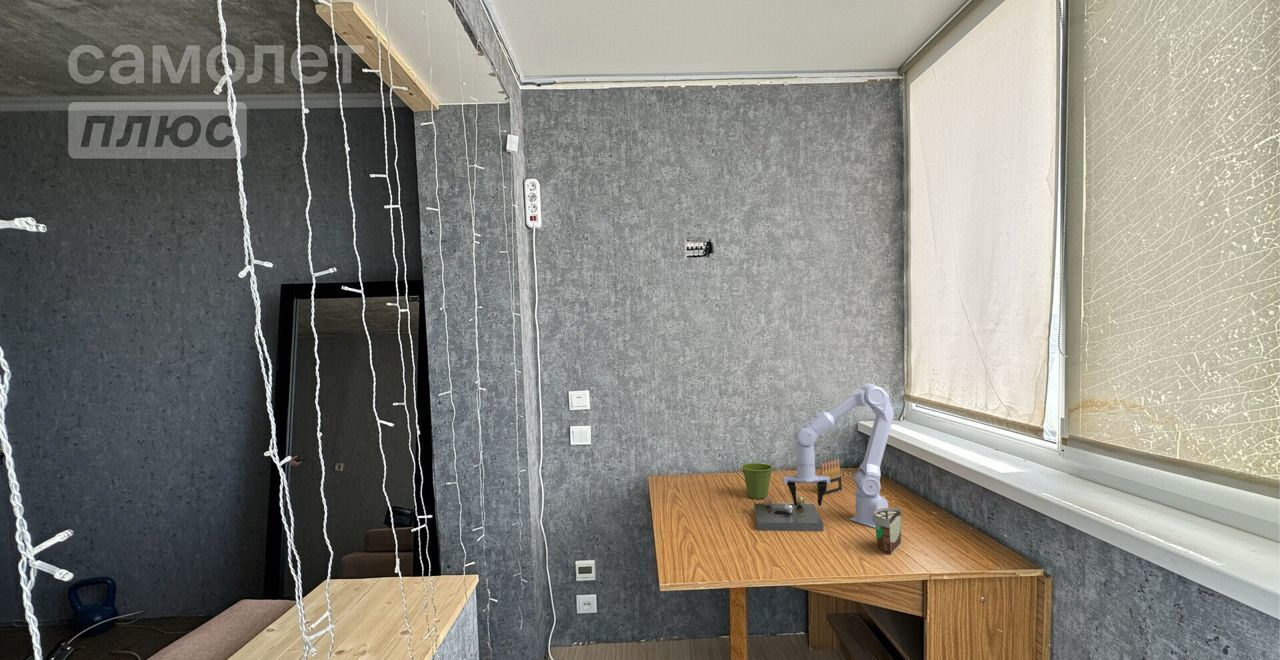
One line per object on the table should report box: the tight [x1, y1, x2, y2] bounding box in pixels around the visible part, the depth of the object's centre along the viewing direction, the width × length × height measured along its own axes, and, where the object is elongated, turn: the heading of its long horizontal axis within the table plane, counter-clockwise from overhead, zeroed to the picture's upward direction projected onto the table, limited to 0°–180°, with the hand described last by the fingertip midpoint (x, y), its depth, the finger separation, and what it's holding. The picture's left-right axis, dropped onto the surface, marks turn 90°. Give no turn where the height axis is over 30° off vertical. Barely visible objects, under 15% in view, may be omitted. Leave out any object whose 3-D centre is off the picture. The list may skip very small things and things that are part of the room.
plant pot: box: [740, 462, 774, 500], centre depth 220 cm, size 12×12×11 cm
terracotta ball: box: [762, 496, 773, 506], centre depth 202 cm, size 3×3×3 cm
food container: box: [872, 507, 903, 556], centre depth 170 cm, size 12×6×10 cm, turn 141°
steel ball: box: [784, 502, 794, 513], centre depth 194 cm, size 3×3×3 cm
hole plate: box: [753, 502, 825, 532], centre depth 194 cm, size 20×19×2 cm
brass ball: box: [796, 494, 806, 506], centre depth 200 cm, size 4×4×4 cm
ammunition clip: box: [819, 458, 843, 496], centre depth 223 cm, size 11×2×12 cm, turn 124°
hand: (807, 505), depth 193 cm, fingers open, 7 cm apart
